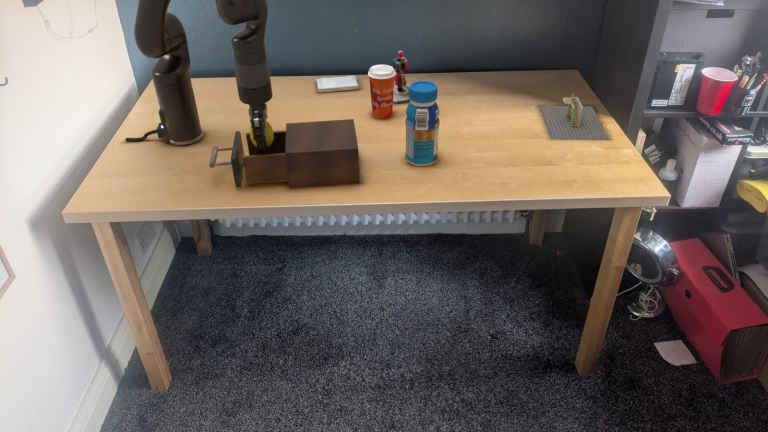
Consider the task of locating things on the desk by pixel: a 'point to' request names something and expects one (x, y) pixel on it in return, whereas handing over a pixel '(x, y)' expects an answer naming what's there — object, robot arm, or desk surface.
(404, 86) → the statue
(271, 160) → the drawer
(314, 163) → the cabinet
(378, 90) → the paper cup
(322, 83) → the hard drive
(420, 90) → the beverage bottle
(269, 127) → the lemon
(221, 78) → the desk surface
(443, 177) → the desk surface
